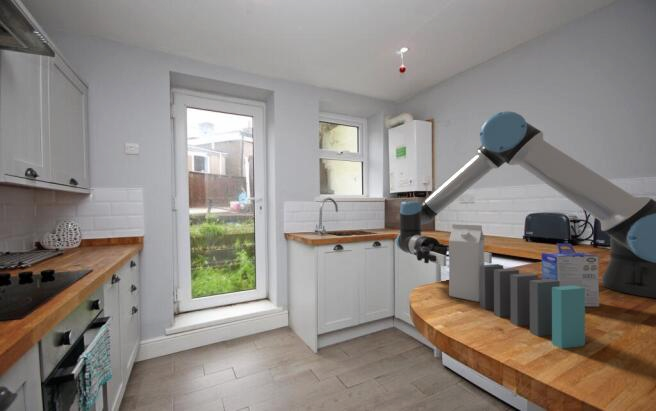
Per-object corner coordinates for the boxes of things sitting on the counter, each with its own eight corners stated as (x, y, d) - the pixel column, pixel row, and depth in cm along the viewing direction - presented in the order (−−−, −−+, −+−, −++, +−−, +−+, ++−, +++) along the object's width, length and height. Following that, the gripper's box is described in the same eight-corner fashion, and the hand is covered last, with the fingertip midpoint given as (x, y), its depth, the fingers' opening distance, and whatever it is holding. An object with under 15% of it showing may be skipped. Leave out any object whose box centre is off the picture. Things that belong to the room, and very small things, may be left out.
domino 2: (494, 314, 60) (493, 269, 60) (513, 312, 61) (512, 268, 61) (499, 317, 59) (499, 271, 59) (519, 315, 60) (519, 270, 60)
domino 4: (529, 332, 52) (529, 280, 52) (551, 329, 53) (551, 278, 53) (537, 336, 50) (537, 282, 50) (559, 333, 51) (559, 281, 51)
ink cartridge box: (579, 299, 69) (579, 242, 69) (601, 307, 64) (600, 246, 64) (540, 299, 69) (540, 242, 69) (558, 307, 64) (558, 246, 64)
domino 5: (552, 343, 48) (551, 287, 48) (574, 340, 49) (574, 285, 49) (561, 348, 46) (561, 290, 46) (584, 345, 47) (584, 288, 47)
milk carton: (456, 289, 77) (455, 223, 77) (484, 295, 73) (484, 224, 73) (449, 296, 72) (448, 225, 72) (479, 302, 67) (478, 226, 67)
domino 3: (510, 322, 56) (510, 274, 56) (530, 320, 57) (530, 273, 57) (517, 326, 55) (517, 276, 54) (538, 323, 56) (537, 275, 55)
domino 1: (479, 307, 65) (479, 265, 65) (497, 305, 66) (497, 264, 65) (485, 309, 63) (484, 266, 63) (503, 307, 64) (503, 265, 64)
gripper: (457, 256, 95) (508, 271, 74) (390, 259, 90) (425, 276, 69) (457, 234, 95) (508, 243, 74) (390, 237, 90) (424, 247, 69)
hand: (468, 259), depth 71 cm, fingers open, 13 cm apart
